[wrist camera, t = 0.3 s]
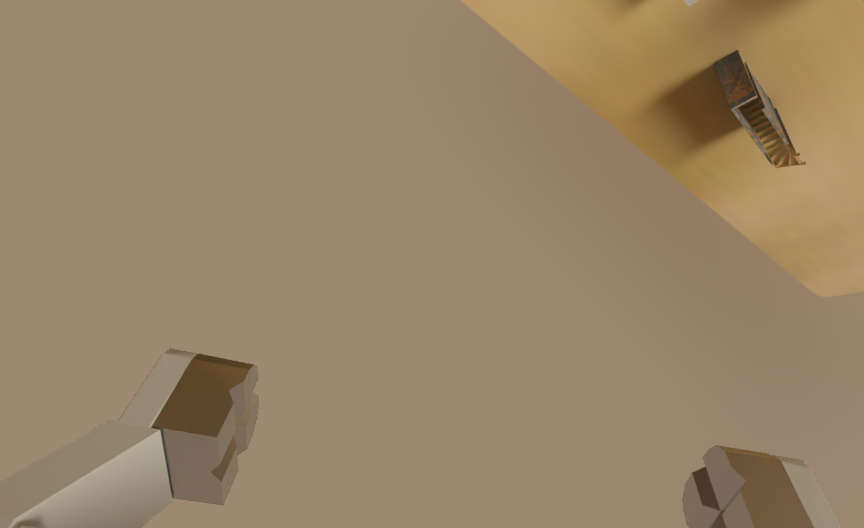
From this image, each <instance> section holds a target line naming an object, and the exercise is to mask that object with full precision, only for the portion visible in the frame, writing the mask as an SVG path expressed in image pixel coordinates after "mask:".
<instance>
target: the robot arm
mask: <svg viewBox="0 0 864 528" xmlns="http://www.w3.org/2000/svg"><path fill="white" fill-rule="evenodd" d="M257 381H258V372H257V366H255V365H253V364H247V363H242V362H238V361H233V360H228V359H223V358H218V357H213V356H208V355H203V354H196V353H192V352H186V351H181V350H176V349H171V348H170V349H169V350H167V351H166V352H165V353H164V354H162V355H161V357H160V358H159V360H158V361H157V363H156V364H155V366H154V367H153V369H152V370H151V372H150V373H149V375H148V376H147V378H146V379H145V381H144V383H143V384H142V385H141V387H140V388H139V390H138V391H137V393H136V394H135V396H134V397H133V399H132V401H131V402H130V403H129V405H128V406H127V408H126V409H125V411H124V412H123V414H122V415H121V417H120V418H119V420H118V421H117V422H115V421H107V422H105V423H103V424H101V425H99V426H98V427H96V428H94V429H92V430H91V431H89V432H87V433H85V434H84V435H82V436H80V437H78V438H76V439H75V440H73V441H71V442H69V443H67V444H66V445H64V446H62V447H61V448H59V449H57V450H55V451H53V452H51V453H50V454H48V455H46V456H44V457H43V458H41V459H39V460H37V461H36V462H34V463H32V464H30V465H28V466H27V467H25V468H23V469H21V470H20V471H18V472H16V473H14V474H12V475H11V476H9V477H7V478H5V479H4V480H2V481H0V528H142V527H143V526H144V525H145V524H146V523H147V522H149V521H150V520H151V519H152V518H153V517H155V516H156V515H157V514H158V513H159V512H161V511H162V510H163V509H164V508H165V507H166V506H168V505H169V504H170V503H171V502H172V501H173V500H172V498H176V499H183V500H190V501H197V502H204V503H211V504H218V505H224V502H225V500H226V498H227V495H228V493H229V491H230V488H231V486H232V484H233V481H234V479H235V476H236V474H237V472H238V464H237V456H238V455H239V454H240V453H242V452H243V451H245V450H246V449H247V448H248V445H249V443H250V440H251V438H252V435H253V432H254V428H255V424H256V420H257V414H258V407H259V406H258V405H259V403H258V402H259V401H258V396H257V394H256V393H255V392H254V391H253V390H254V387H255V385H256V382H257ZM703 460H704V463H705V465H706V467H704V468H701V469H699V470H697V471H695V472H693V473H692V474H691V475H690V477H689V479H688V480H687V482H686V484H685V488H684V493H683V511H684V515H685V519H686V523H687V525H688V526H689V528H840V526H839V524H838V522H837V520H836V518H835V516H834V514H833V512H832V510H831V508H830V506H829V504H828V502H827V500H826V498H825V496H824V495H823V493H822V491H821V489H820V487H819V485H818V483H817V481H816V480H815V477H814V475H813V473H812V471H811V469H810V468H809V466H808V465H807V464H806V463H804V461H803V460H799V459H793V458H788V457H782V456H776V455H770V454H766V453H760V452H754V451H748V450H742V449H735V448H729V447H723V446H714V447H712V448H710V449H709V450H708V451H707V453H706V454H705V455H704V457H703Z"/></svg>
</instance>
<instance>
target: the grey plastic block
mask: <svg viewBox="0 0 864 528" xmlns="http://www.w3.org/2000/svg"><path fill="white" fill-rule="evenodd" d="M684 1H685V2H686V4H687V5H688V6H690V5H692V4H693V3H695V2H696V1H697V0H684Z"/></svg>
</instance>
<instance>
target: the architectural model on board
mask: <svg viewBox="0 0 864 528" xmlns="http://www.w3.org/2000/svg"><path fill="white" fill-rule="evenodd" d="M739 52H740V51H738V50H737V51H735V52H733V53H731V54H730V55H728V56H726V57H725V58H723V59H721V60H720V61H718V62H716V63H714V67H715V70H716V72H717V75H718V78H719V80H720V83H721V86H722V88H723V91H724V93H725V96H726V99H727V101H728V104H729V107H730V109H731V111H732V112H733V113H734V115H735V116H736V117H737V119H738V120H739V121H740V123H741V124H742V125H743V127H744V128H745V129H746V131H747V132H748V134H749V135H750V136H751V138H752V139H753V140H754V142H755V143H756V144H757V146H758V147H759V148H760V150H761V151H762V152H763V154H764V155H765V156H766V158H767V159H768V161H769V162H770V163H771V165H774V166H775V167H776V168H780V167H786V166H794V165H804V164H806V162H803V163H802V161H801V160H800V158H799V157H798V156H800V154H799V153H797V154H796V151H795V149H794V147H793V145H792V142H791V140H790V138H789V136H788V133H787V131H786V129H785V127H784V124H783V122H782V120H781V118H780V115H779V113H778V111H777V109H776V108H775V109H774V107H773V105H772V103H771V101H770V98H769V97H768V96H767V95H766V93H765V92H764V90H763V89H762V87H761V86H760V84H759V83H758V81H757V80H756V78H755V77H754V75H753V74H752V72H751V71H750V69H749V68H748V66H747V64H746V63H747V62H745V61H744V59H743V58H742V56H741V55H740V53H739Z"/></svg>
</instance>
